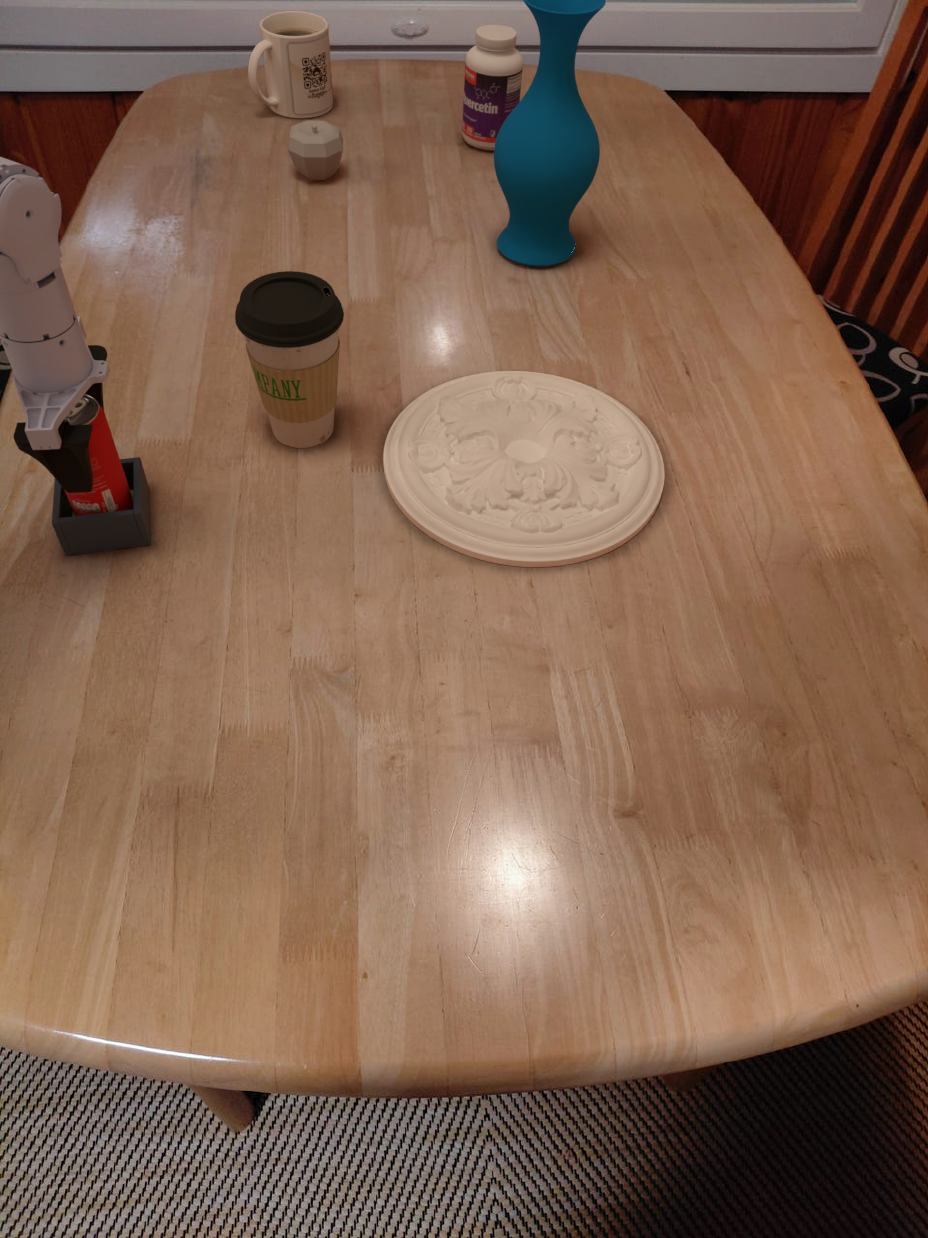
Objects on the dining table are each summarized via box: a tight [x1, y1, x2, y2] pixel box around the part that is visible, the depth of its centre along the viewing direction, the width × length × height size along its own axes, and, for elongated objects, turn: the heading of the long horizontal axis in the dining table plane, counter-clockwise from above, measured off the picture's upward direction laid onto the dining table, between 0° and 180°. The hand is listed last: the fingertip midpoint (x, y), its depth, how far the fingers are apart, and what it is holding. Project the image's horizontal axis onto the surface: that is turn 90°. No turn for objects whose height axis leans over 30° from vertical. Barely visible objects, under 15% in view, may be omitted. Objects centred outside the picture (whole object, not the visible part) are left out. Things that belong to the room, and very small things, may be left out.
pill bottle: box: [461, 23, 524, 152], centre depth 132 cm, size 8×8×14 cm
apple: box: [287, 119, 344, 181], centre depth 126 cm, size 8×8×7 cm
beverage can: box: [64, 394, 133, 516], centre depth 81 cm, size 5×5×12 cm
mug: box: [247, 10, 334, 119], centre depth 137 cm, size 10×12×11 cm
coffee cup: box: [234, 270, 345, 449], centre depth 89 cm, size 10×10×15 cm
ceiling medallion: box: [382, 370, 666, 568], centre depth 92 cm, size 28×28×3 cm
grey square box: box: [51, 456, 152, 556], centre depth 84 cm, size 7×7×4 cm
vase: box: [493, 0, 607, 268], centre depth 108 cm, size 12×13×28 cm
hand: (86, 458), depth 80 cm, fingers open, 7 cm apart
